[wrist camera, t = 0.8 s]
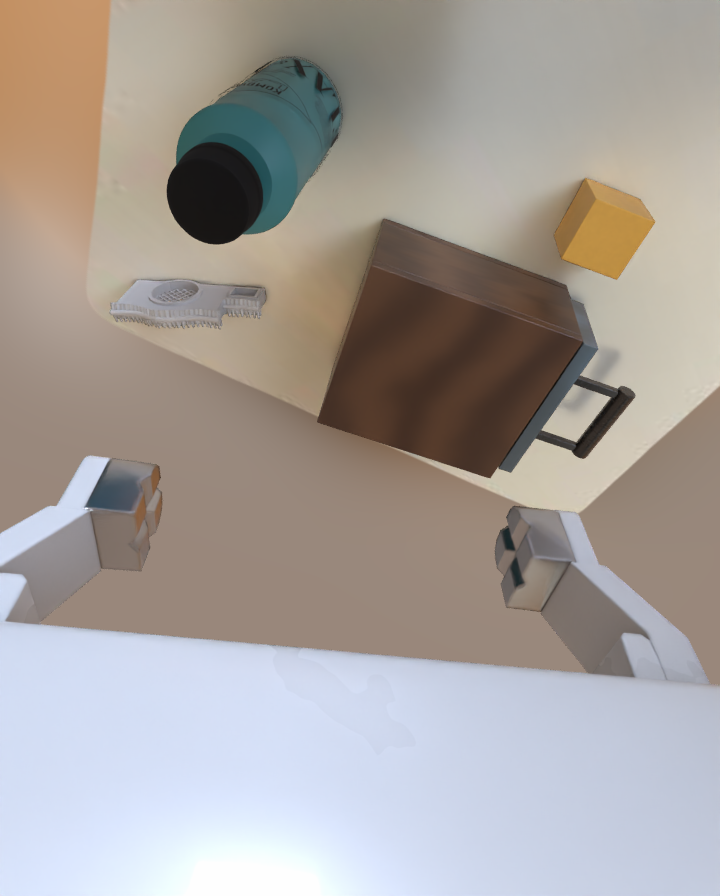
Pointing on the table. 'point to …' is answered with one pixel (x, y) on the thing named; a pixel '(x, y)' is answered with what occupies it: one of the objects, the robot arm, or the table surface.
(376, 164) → the table surface
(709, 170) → the table surface
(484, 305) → the cabinet
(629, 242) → the block
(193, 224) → the beverage bottle
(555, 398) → the drawer
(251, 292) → the garden wall model
